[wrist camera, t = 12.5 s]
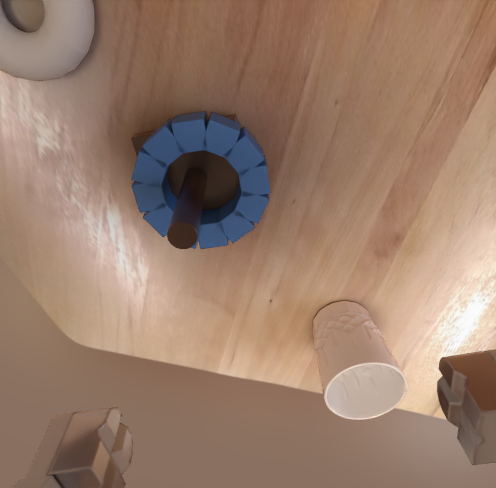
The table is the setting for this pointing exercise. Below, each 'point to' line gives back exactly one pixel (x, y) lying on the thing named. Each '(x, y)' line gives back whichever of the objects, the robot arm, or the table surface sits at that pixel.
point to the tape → (215, 141)
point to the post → (195, 189)
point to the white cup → (355, 363)
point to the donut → (48, 41)
